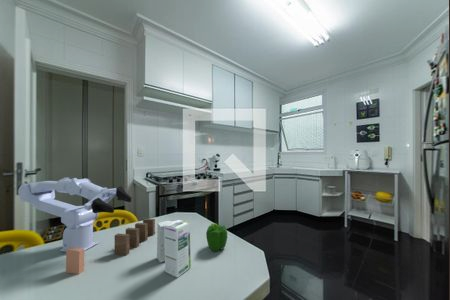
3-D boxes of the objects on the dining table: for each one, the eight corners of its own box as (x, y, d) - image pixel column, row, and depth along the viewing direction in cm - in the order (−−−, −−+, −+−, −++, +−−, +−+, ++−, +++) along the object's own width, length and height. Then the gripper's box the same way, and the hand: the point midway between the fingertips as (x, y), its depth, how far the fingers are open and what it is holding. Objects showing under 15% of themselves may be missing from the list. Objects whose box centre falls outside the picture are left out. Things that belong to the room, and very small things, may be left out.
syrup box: (177, 278, 52) (177, 228, 52) (164, 271, 55) (164, 224, 55) (191, 267, 56) (190, 222, 57) (178, 262, 60) (177, 218, 60)
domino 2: (126, 255, 64) (126, 236, 65) (114, 254, 65) (114, 235, 66) (129, 253, 66) (129, 234, 66) (117, 252, 67) (117, 233, 67)
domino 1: (79, 274, 54) (79, 251, 55) (65, 272, 55) (66, 249, 56) (84, 270, 56) (84, 248, 56) (71, 269, 57) (71, 247, 57)
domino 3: (136, 247, 70) (136, 230, 70) (125, 246, 71) (125, 229, 71) (139, 245, 71) (139, 228, 72) (128, 245, 72) (128, 227, 73)
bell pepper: (221, 241, 74) (221, 217, 75) (231, 250, 67) (230, 223, 67) (202, 245, 70) (202, 220, 71) (210, 256, 63) (210, 227, 63)
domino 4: (145, 241, 75) (145, 224, 75) (134, 240, 76) (134, 224, 76) (147, 239, 77) (147, 223, 77) (137, 238, 78) (137, 222, 78)
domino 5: (152, 235, 81) (152, 220, 81) (143, 235, 81) (143, 219, 82) (154, 234, 82) (154, 218, 82) (145, 233, 83) (145, 218, 83)
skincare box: (159, 263, 59) (159, 226, 60) (156, 257, 63) (156, 222, 63) (177, 257, 63) (177, 222, 63) (173, 251, 66) (173, 219, 67)
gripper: (74, 193, 62) (103, 205, 58) (112, 177, 75) (137, 187, 72) (76, 209, 64) (104, 223, 61) (112, 191, 77) (137, 201, 74)
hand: (122, 204), depth 66 cm, fingers open, 7 cm apart
